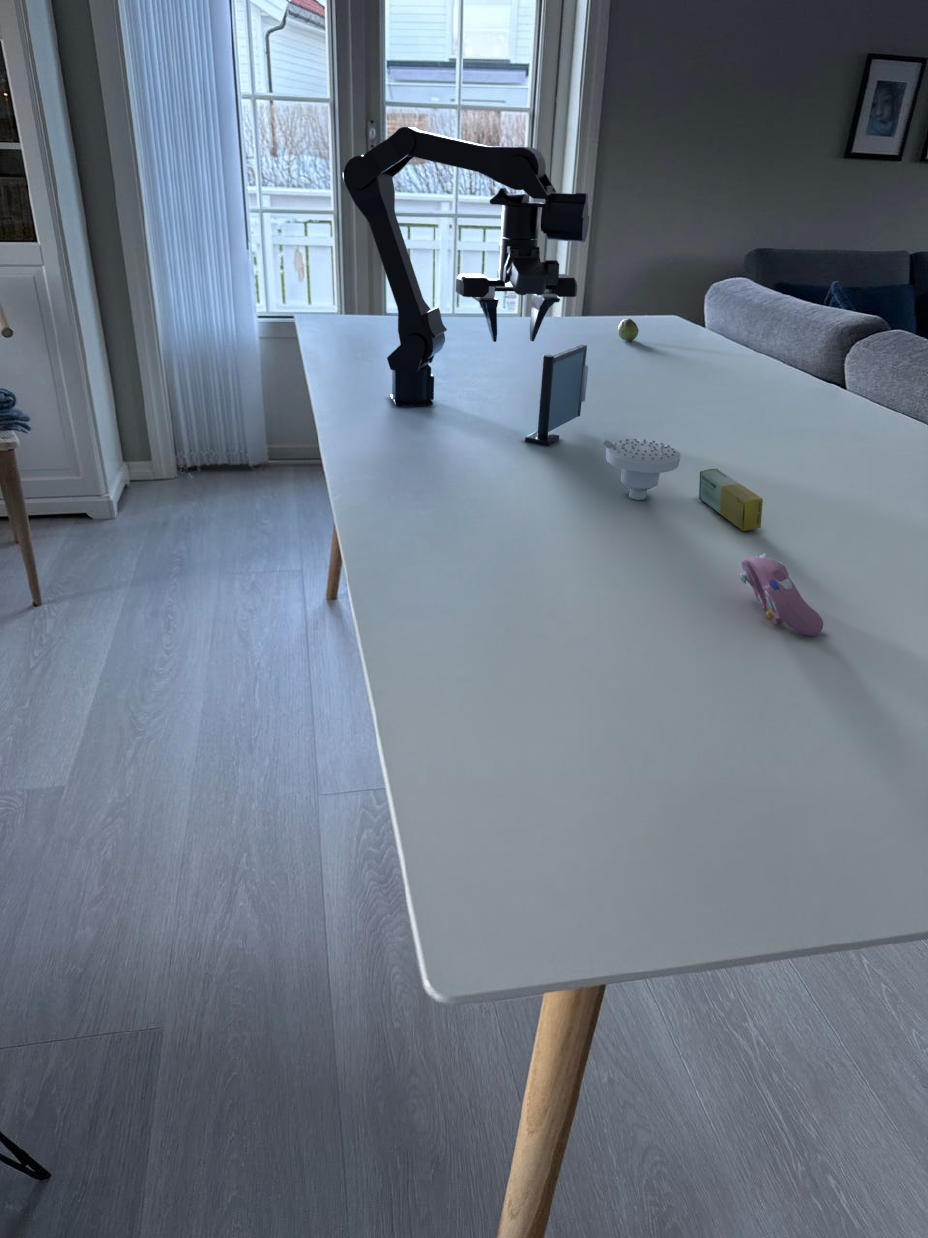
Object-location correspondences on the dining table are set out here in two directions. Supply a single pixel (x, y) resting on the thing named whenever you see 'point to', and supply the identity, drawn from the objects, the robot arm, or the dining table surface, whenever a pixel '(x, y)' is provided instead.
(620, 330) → the lime
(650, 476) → the showerhead
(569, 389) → the shower door
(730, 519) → the medication box
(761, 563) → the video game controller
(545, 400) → the hinge post
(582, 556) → the dining table surface
